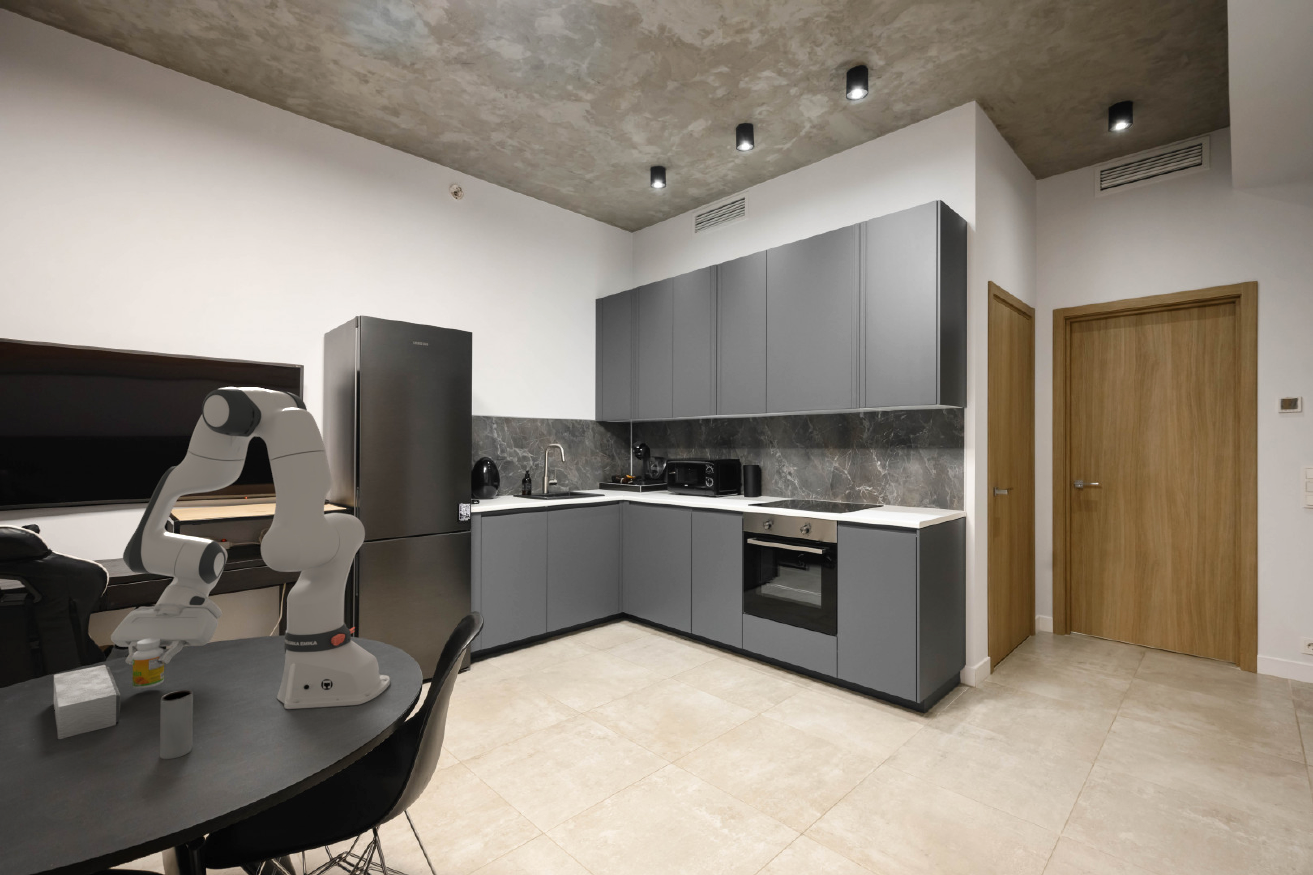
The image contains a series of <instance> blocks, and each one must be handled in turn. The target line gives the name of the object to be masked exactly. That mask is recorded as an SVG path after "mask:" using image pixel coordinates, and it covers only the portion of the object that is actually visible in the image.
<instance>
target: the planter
mask: <svg viewBox="0 0 1313 875" xmlns="http://www.w3.org/2000/svg"><path fill="white" fill-rule="evenodd" d="M193 718H194V692H193V691H192V690H187V689H182V690H175V691H172V692H169V693H167V694H165V695H163V696H161V698H160V726H159V728H160V730H159V733H160V735H159V738H160V739H159V740H160V741H159V757H160V758H161V759H163V760H172V759H175V758H176V759H177V758H180V757H182V756H185V755H187V754H188V753H190V752H191V751H192V750H193V736H194V735H193V732H194V730H193V727H194V723H193V721H194V719H193Z"/></svg>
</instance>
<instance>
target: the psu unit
mask: <svg viewBox="0 0 1313 875" xmlns="http://www.w3.org/2000/svg"><path fill="white" fill-rule="evenodd" d="M53 710H55V711H54V717H55V725H56V731H57V732H56V733H57V739H58V740H61V739H65V738H70V737H74V736H77V735H82V734H85V733H90V732H93V731H98V730H101V729H105V728H109V727H113V726H116V725H117V723H118V722H120V718H121V716H120V715H121V712H120V711H121V692H120V690H119V688H118V686H117V684H116V681H115V677H114V676H113V673H112V671H111V669H110V666H106V665H105V664H103V665H98V666H92V667H87V668H82V669H77V670H72V671H67V672H62V673H56V674H53Z"/></svg>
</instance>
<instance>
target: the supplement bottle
mask: <svg viewBox="0 0 1313 875" xmlns="http://www.w3.org/2000/svg"><path fill="white" fill-rule="evenodd" d="M162 653H165V649H164V648H163V647H161V646H160V638H149V639H144V640H141V641H138V642H137V652H135V653H134V654H133V664H132V681H131V683H132V688H133V689H135V690H142V689H150V688H154V687H157V686H159V685H161V684H162V683H163V682H164V680H165V664H160V663H158V662H157V660H158V658H159V656H160V654H162Z"/></svg>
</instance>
